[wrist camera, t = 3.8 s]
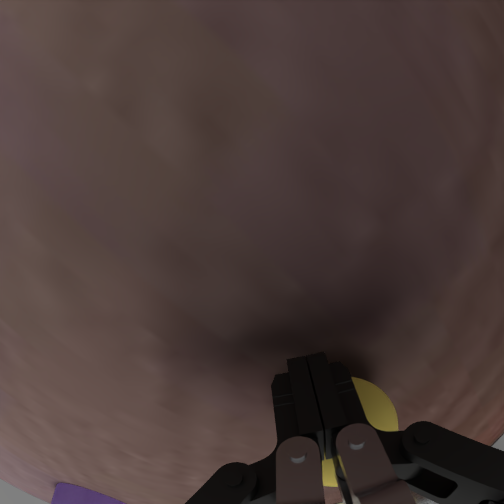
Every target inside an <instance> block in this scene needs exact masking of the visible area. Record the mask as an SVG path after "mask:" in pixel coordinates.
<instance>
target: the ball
mask: <svg viewBox="0 0 504 504" xmlns="http://www.w3.org/2000/svg"><path fill="white" fill-rule="evenodd" d="M351 378H352V381H353V383H354V386H355V389H356V391H357V393H358V396H359V399H360V401H361V404H362V407H363V410H364V412H365V415H366V418H367V420H368V422H369V423H370V424H371V425H372V426H373V427H375V428H377V429H379V430H382V431H398V418H397V414H396V410H395V408H394V406H393V404H392V402H391V401H390V399H389V397H388V396H387V395H386V394H385V393H384V392H383V391H382V390H381V389H380V388H379V387H377V386H376V385H374V384H372V383H371V382H368V381H366V380H363V379H360V378H355V377H351ZM322 475H323V476H322V479H323V486H331V487H338V484H337V481H336V478H335V468H334V464H333V459H332V458H331V459H327V460H326V457H325V453H324V460H323V461H322Z"/></svg>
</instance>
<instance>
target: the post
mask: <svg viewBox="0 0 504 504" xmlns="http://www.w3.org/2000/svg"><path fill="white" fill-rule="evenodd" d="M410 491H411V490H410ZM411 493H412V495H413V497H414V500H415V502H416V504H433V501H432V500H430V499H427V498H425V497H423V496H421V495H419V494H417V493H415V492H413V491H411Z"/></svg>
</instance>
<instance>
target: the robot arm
mask: <svg viewBox="0 0 504 504" xmlns="http://www.w3.org/2000/svg"><path fill="white" fill-rule="evenodd" d="M287 365H288V371H289V372H288V373H282V374H277V375H275V377H274V380H273V382H272V385H271V388H272V396H273V405H274V413H275V422H276V431H277V445H276V448H275V449H274V451H273V452H272V453H271V454H270V455H269V456H268V457H266V458H265V459H263V460H260V461H258V462H256V463H253V464H251V465H247V464H244V463H239V462H233V463H229V464H226V465H224V466H222V467H221V468H219V469H218V470H217V471H216V472H215V474H214V475H213V476H212V477H211V478H210V479H209V480H208V481H207V482H206V483H205V484H204V485H203V486H202V487H201V488H200V489H199V490H198V491H197V492H196V493H195V494H194V495H193V496H192V497H191V498H190V499H189V500H188V501H187V502H186V503H185V504H325V499H324V489H323V479H322V476H323V475H322V461H323V460H324V453H325V457H326V460H327V459H331V458H332V459H333V464H334V468H335V478H336V481H337V484H338V487H339V490H340V493H341V496H342V499H343V502H344V504H416V502H415V500H414V497H413V495H412V493H411V491H413V492H415V493H417V494H419V495H421V496H423V497H425V498H427V499H430V500H432V501H434V502H436V503H439V504H504V451H501V450H499V449H496V448H493V447H490V446H488V445H485V444H482V443H480V442H477V441H475V440H472V439H469V438H467V437H464V436H462V435H459V434H457V433H455V432H452V431H450V430H447V429H445V428H443V427H440V426H438V425H436V424H433V423H431V422H427V421H420V422H416V423H413V424H412V425H410V426H409V427H408V428H407V429H406V430H405V431H382V430H379V429H377V428H375V427H373V426H372V425H371V424H370V423H369V422H368V420H367V418H366V415H365V412H364V410H363V407H362V404H361V401H360V399H359V396H358V393H357V391H356V389H355V386H354V383H353V381H352V378H351V375H350V373H349V370H348V369H347V368H346V367H345V366H344V365H343V364H342V363H341V362H340V361H339V362H335V363H330V364H328V361H327V358H326V355H325V353H324V352H320V353H316V354H311V355H306V359H305V356H302V357H297V358H292V359H287ZM410 490H411V491H410Z"/></svg>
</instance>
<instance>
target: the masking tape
mask: <svg viewBox="0 0 504 504" xmlns="http://www.w3.org/2000/svg"><path fill="white" fill-rule="evenodd" d="M51 504H125V503H123V502H121V501H119V500H116V499H114V498H111V497H109V496H106V495H104V494H101V493H98V492H95V491H92V490H90V489H86V488H83V487H80V486H76V485H73V484H68V483H58V484H57V485H56V488H55V492H54V495H53V498H52V502H51Z"/></svg>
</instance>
